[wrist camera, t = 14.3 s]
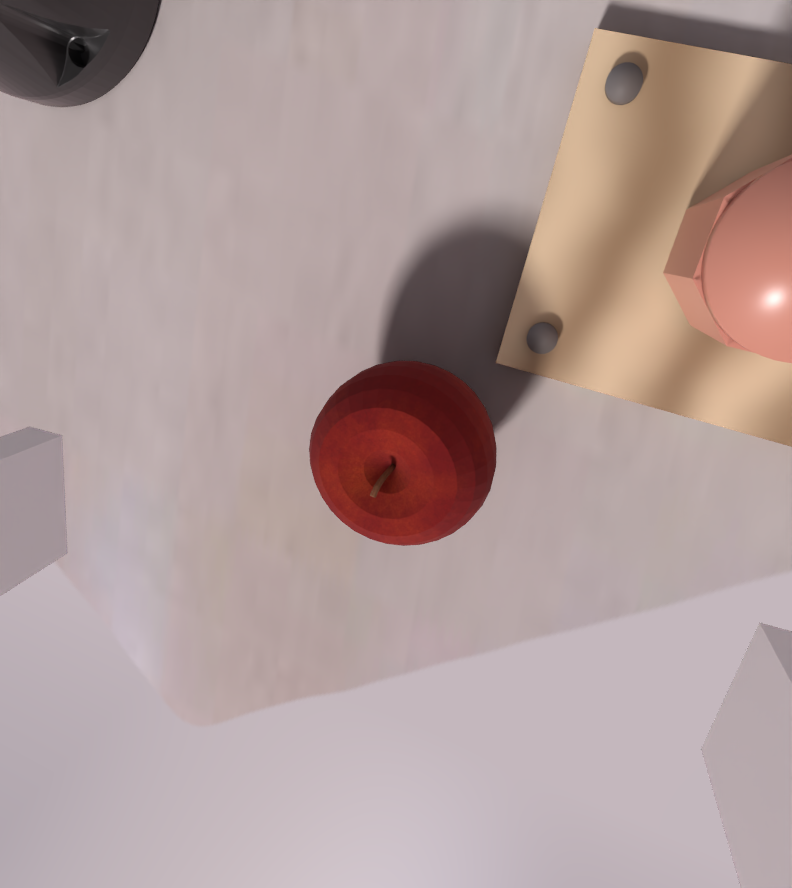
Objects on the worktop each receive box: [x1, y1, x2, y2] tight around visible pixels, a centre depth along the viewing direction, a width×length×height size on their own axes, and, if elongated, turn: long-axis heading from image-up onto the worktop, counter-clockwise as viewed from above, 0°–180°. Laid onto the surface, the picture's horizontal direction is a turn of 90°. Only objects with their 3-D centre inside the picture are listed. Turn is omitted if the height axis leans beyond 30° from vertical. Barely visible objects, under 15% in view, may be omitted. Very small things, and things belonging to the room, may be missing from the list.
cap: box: [663, 155, 792, 363], centre depth 24 cm, size 7×7×8 cm
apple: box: [309, 361, 496, 546], centre depth 32 cm, size 10×10×10 cm
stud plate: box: [496, 28, 792, 447], centre depth 26 cm, size 20×16×8 cm
